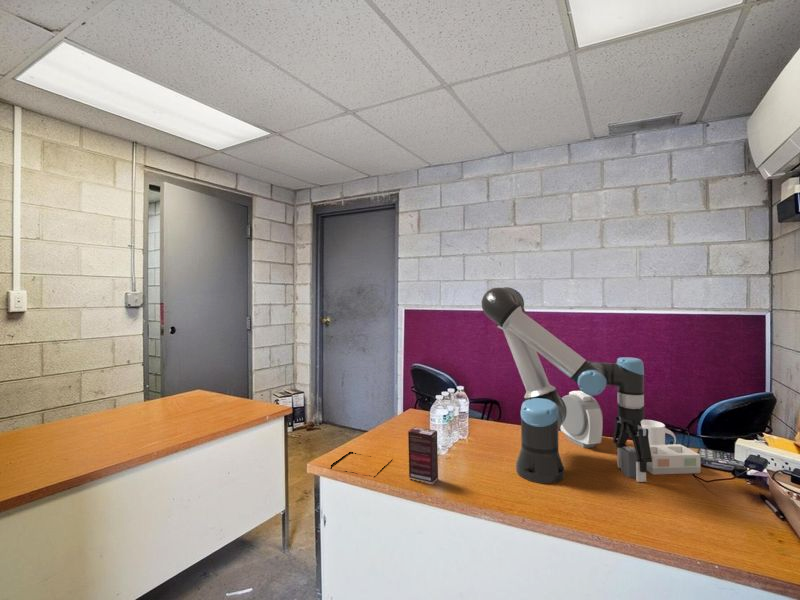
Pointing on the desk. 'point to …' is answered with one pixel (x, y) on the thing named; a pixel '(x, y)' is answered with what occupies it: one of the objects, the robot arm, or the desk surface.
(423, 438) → the supplement box
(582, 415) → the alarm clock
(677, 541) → the desk surface
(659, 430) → the mug
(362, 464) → the desk surface
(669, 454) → the divided sorting tray
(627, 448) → the plug
